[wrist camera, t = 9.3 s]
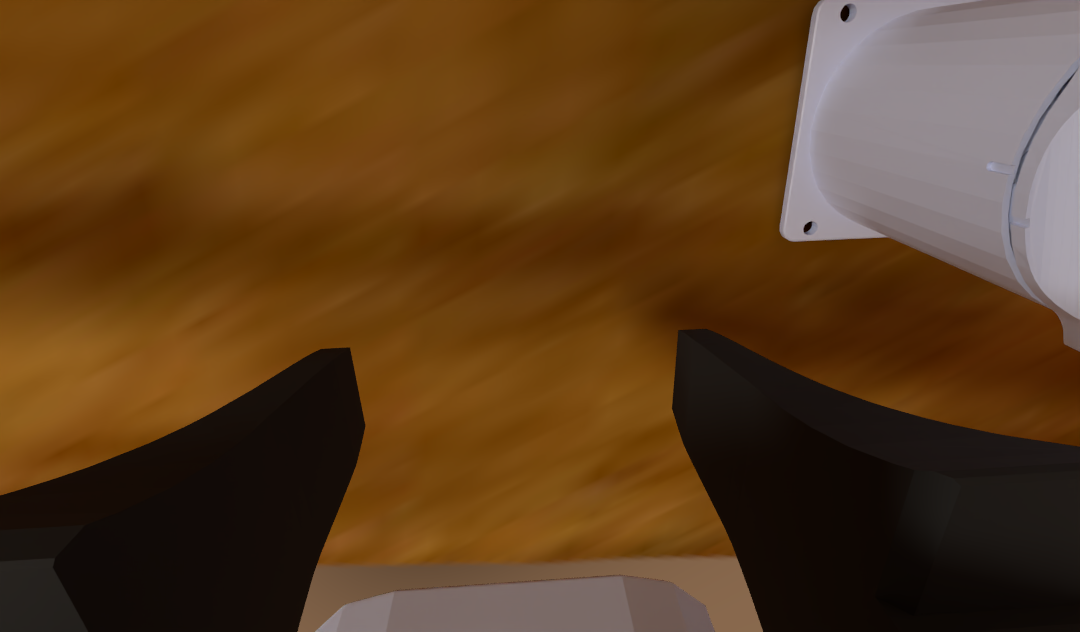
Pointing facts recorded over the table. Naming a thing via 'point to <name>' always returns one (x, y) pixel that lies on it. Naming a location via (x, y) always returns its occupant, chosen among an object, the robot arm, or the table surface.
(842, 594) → the robot arm
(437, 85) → the table surface
